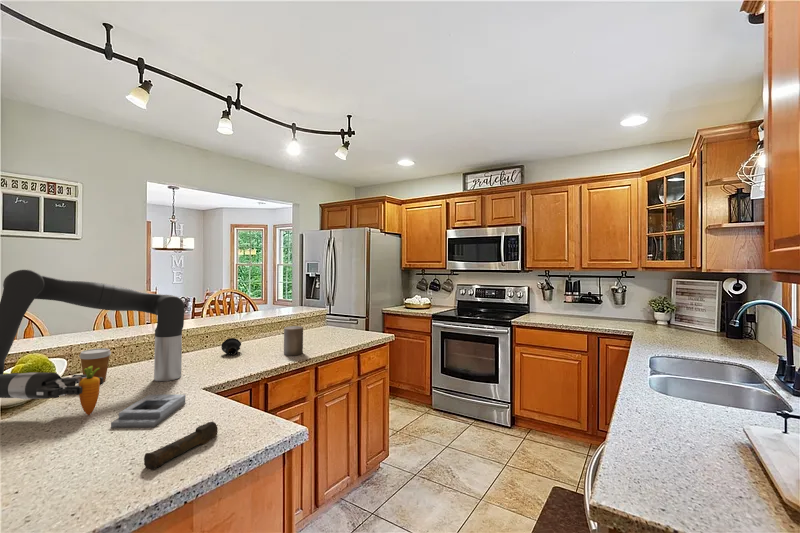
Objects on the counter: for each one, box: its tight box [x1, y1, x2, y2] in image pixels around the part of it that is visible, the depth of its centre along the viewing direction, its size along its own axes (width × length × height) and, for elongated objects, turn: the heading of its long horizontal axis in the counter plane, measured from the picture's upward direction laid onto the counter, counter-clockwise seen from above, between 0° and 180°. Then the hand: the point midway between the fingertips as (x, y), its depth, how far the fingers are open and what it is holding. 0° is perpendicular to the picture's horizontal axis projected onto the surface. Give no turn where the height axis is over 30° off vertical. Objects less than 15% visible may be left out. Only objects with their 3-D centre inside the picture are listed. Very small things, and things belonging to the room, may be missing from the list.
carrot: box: [78, 366, 101, 416], centre depth 112 cm, size 5×5×15 cm
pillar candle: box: [283, 325, 304, 357], centre depth 193 cm, size 10×10×15 cm
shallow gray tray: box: [110, 393, 186, 429], centre depth 114 cm, size 18×12×3 cm, turn 5°
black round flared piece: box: [221, 337, 242, 356], centre depth 192 cm, size 9×11×18 cm
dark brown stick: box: [143, 421, 219, 471], centre depth 93 cm, size 19×4×5 cm, turn 156°
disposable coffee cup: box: [78, 347, 112, 383], centre depth 142 cm, size 10×10×12 cm
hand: (92, 385), depth 112 cm, fingers open, 8 cm apart
